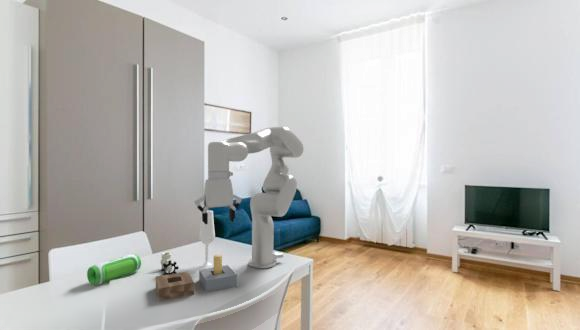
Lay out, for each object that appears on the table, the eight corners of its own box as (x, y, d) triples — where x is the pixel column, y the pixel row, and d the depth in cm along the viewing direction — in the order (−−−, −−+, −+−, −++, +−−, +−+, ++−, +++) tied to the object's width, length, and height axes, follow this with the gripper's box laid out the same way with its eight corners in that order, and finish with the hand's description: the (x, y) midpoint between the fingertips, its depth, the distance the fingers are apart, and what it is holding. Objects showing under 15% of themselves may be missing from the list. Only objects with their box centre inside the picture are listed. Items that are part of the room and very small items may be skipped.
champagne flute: (216, 264, 136) (216, 210, 135) (212, 269, 129) (213, 212, 128) (200, 264, 136) (201, 209, 135) (196, 269, 129) (197, 212, 128)
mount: (188, 284, 114) (188, 271, 114) (194, 297, 104) (194, 282, 104) (155, 290, 108) (155, 276, 108) (158, 304, 99) (158, 288, 99)
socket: (227, 277, 121) (227, 265, 121) (236, 288, 111) (236, 274, 111) (199, 282, 116) (199, 269, 115) (206, 294, 106) (206, 280, 106)
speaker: (131, 269, 129) (131, 251, 128) (142, 272, 125) (142, 254, 125) (86, 284, 113) (86, 264, 113) (97, 288, 110) (97, 267, 110)
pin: (220, 280, 115) (220, 254, 115) (222, 283, 113) (222, 256, 112) (212, 282, 114) (212, 255, 114) (214, 285, 111) (214, 257, 111)
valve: (156, 269, 129) (160, 279, 119) (156, 253, 129) (160, 262, 119) (173, 266, 132) (178, 276, 122) (173, 251, 132) (178, 259, 122)
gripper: (238, 174, 120) (238, 217, 120) (192, 175, 112) (192, 222, 112) (244, 175, 113) (244, 221, 114) (196, 177, 105) (196, 227, 106)
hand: (218, 222), depth 113 cm, fingers open, 9 cm apart
